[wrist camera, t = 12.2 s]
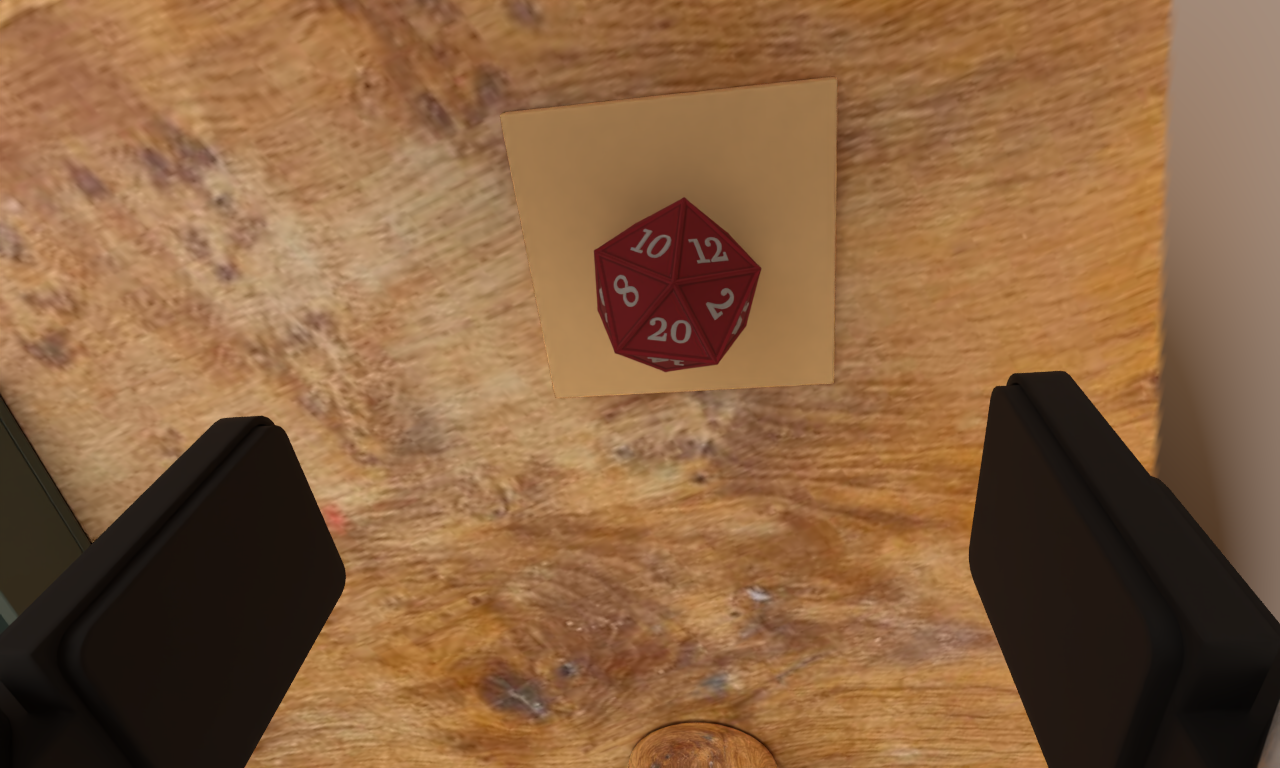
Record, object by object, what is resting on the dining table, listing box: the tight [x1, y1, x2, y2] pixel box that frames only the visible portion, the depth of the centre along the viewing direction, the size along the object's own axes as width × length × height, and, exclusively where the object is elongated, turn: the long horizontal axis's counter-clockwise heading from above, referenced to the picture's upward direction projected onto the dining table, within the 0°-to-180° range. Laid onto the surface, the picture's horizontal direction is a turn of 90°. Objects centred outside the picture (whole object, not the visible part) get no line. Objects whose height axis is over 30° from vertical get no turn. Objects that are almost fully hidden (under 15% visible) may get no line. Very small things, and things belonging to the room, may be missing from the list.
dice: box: [594, 197, 762, 372], centre depth 18 cm, size 4×4×4 cm
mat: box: [500, 77, 838, 398], centre depth 20 cm, size 8×8×1 cm
